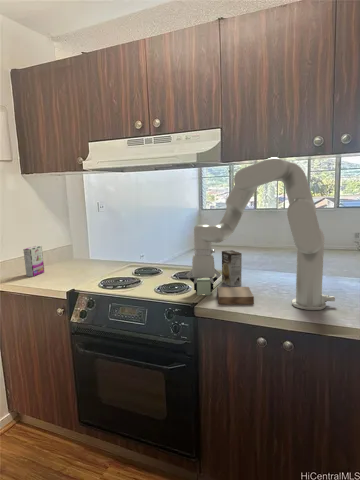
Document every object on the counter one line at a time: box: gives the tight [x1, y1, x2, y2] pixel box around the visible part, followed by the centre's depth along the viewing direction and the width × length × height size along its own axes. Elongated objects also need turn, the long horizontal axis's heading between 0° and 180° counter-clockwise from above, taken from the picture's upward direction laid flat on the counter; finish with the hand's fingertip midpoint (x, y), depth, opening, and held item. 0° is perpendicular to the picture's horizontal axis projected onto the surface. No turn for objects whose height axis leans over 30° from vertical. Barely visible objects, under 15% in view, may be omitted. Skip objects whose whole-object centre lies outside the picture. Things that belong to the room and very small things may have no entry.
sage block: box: [196, 278, 212, 296], centre depth 148 cm, size 6×6×6 cm
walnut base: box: [216, 286, 255, 305], centre depth 140 cm, size 14×14×3 cm
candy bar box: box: [23, 245, 45, 278], centre depth 193 cm, size 11×5×16 cm, turn 170°
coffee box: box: [221, 250, 243, 287], centre depth 161 cm, size 9×6×16 cm
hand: (203, 291), depth 148 cm, fingers closed on sage block, 6 cm apart
